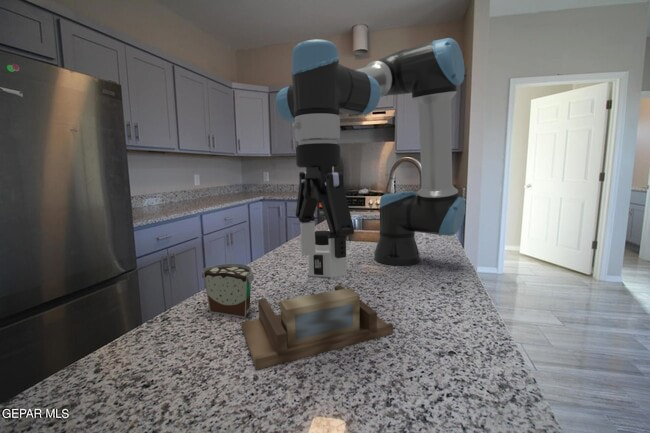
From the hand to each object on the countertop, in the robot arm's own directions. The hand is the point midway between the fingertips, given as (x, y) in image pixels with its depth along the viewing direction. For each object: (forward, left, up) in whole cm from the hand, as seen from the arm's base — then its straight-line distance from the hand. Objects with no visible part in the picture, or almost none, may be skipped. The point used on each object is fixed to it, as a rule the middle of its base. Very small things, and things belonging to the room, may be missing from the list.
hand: (321, 264), depth 56 cm
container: (-15, -34, -15) cm, 40 cm away
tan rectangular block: (0, 0, -13) cm, 13 cm away
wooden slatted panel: (0, -3, -14) cm, 15 cm away
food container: (+13, -20, -15) cm, 28 cm away
